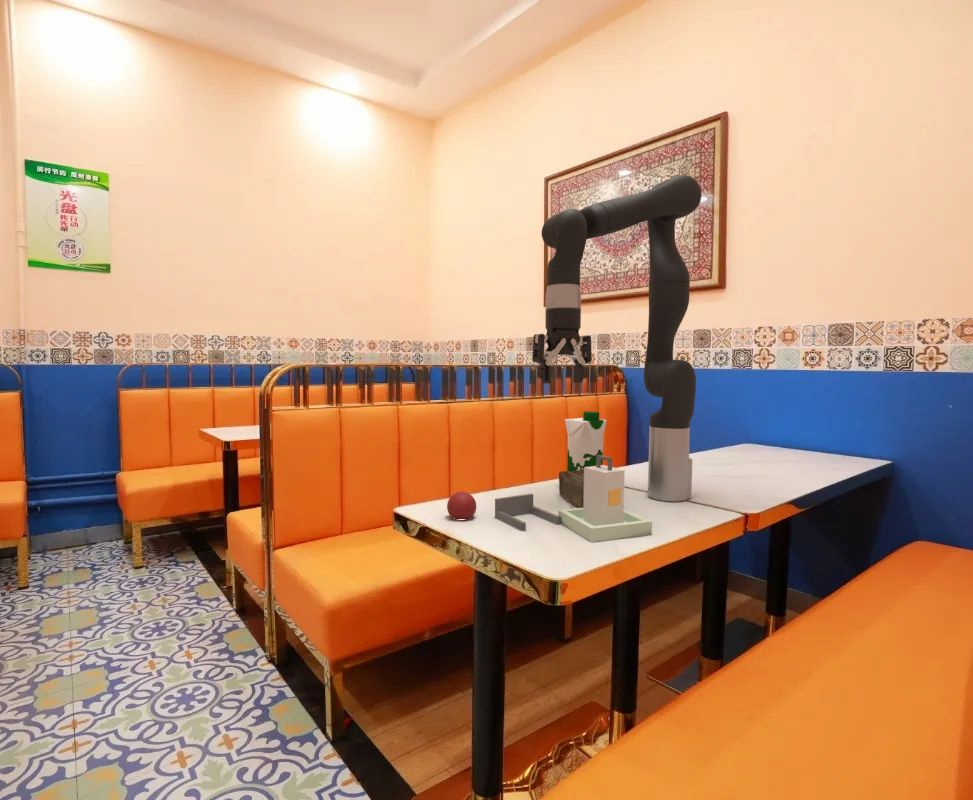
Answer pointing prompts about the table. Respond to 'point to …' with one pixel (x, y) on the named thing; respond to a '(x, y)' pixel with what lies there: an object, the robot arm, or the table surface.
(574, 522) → the tray
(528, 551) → the table surface
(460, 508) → the fruit
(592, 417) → the milk carton
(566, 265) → the robot arm
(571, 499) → the beverage carton
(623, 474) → the white tall block
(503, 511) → the bay
